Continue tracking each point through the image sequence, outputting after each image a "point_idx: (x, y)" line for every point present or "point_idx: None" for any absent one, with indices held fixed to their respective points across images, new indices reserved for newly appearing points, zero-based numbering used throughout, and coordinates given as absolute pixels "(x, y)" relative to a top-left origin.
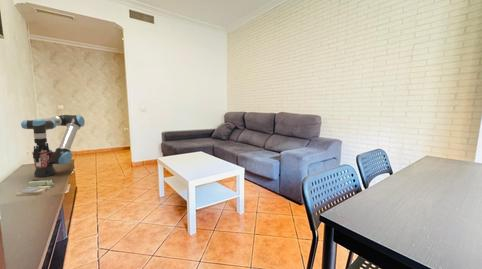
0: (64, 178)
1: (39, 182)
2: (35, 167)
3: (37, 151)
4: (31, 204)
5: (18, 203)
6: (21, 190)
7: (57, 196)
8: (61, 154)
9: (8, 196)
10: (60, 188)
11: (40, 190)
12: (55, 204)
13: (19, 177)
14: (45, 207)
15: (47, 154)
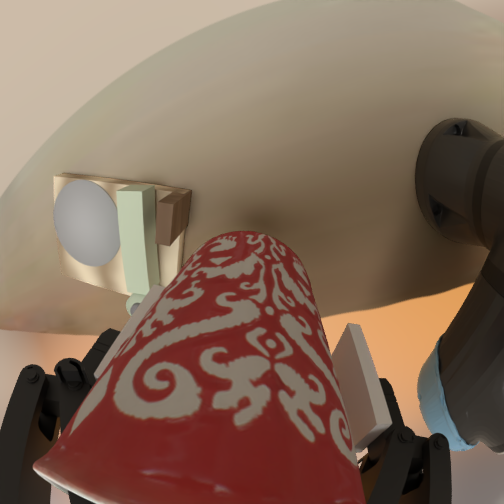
0: (325, 313)
1: (124, 259)
2: (199, 247)
3: (30, 501)
4: (14, 271)
5: (14, 228)
6: (77, 182)
7: (65, 329)
8: (460, 423)
9: (64, 138)
10: None
11: (79, 273)
12: (27, 329)
13: (445, 43)
14: (12, 310)
15: (369, 454)
